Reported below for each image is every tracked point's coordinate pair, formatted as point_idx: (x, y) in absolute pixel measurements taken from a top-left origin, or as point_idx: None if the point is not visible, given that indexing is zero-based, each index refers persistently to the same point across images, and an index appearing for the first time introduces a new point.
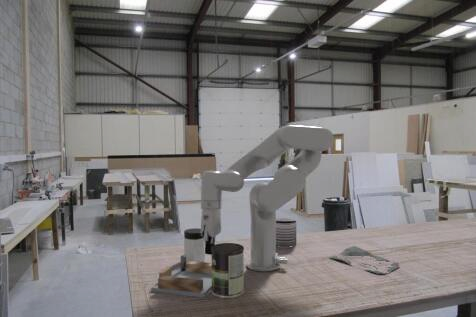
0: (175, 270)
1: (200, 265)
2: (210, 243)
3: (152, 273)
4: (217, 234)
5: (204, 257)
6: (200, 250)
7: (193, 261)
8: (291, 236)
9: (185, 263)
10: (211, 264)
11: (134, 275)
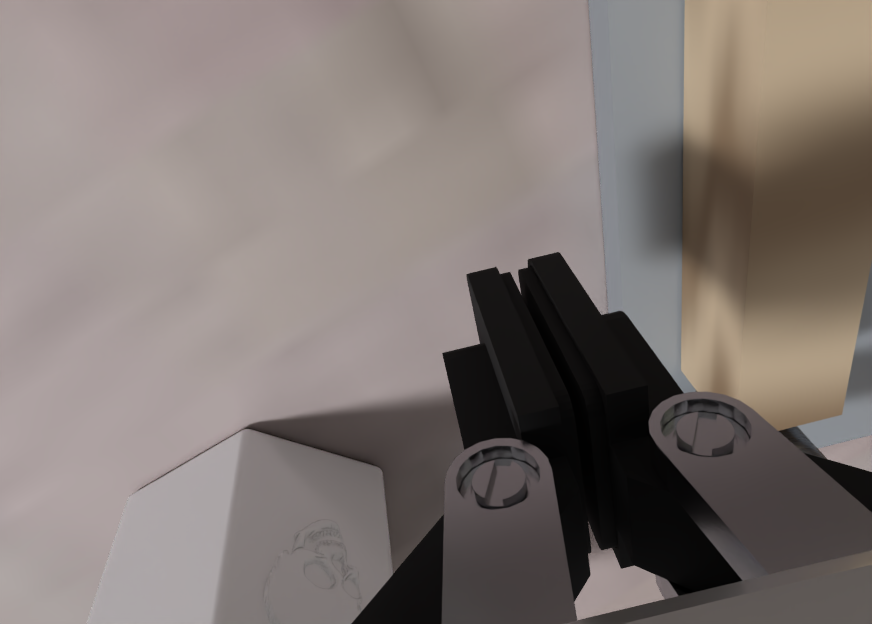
0: None
1: (869, 214)
2: (741, 440)
3: None
4: (745, 602)
5: (190, 481)
6: (295, 574)
7: (746, 386)
8: None
9: (792, 430)
10: (851, 50)
11: None
